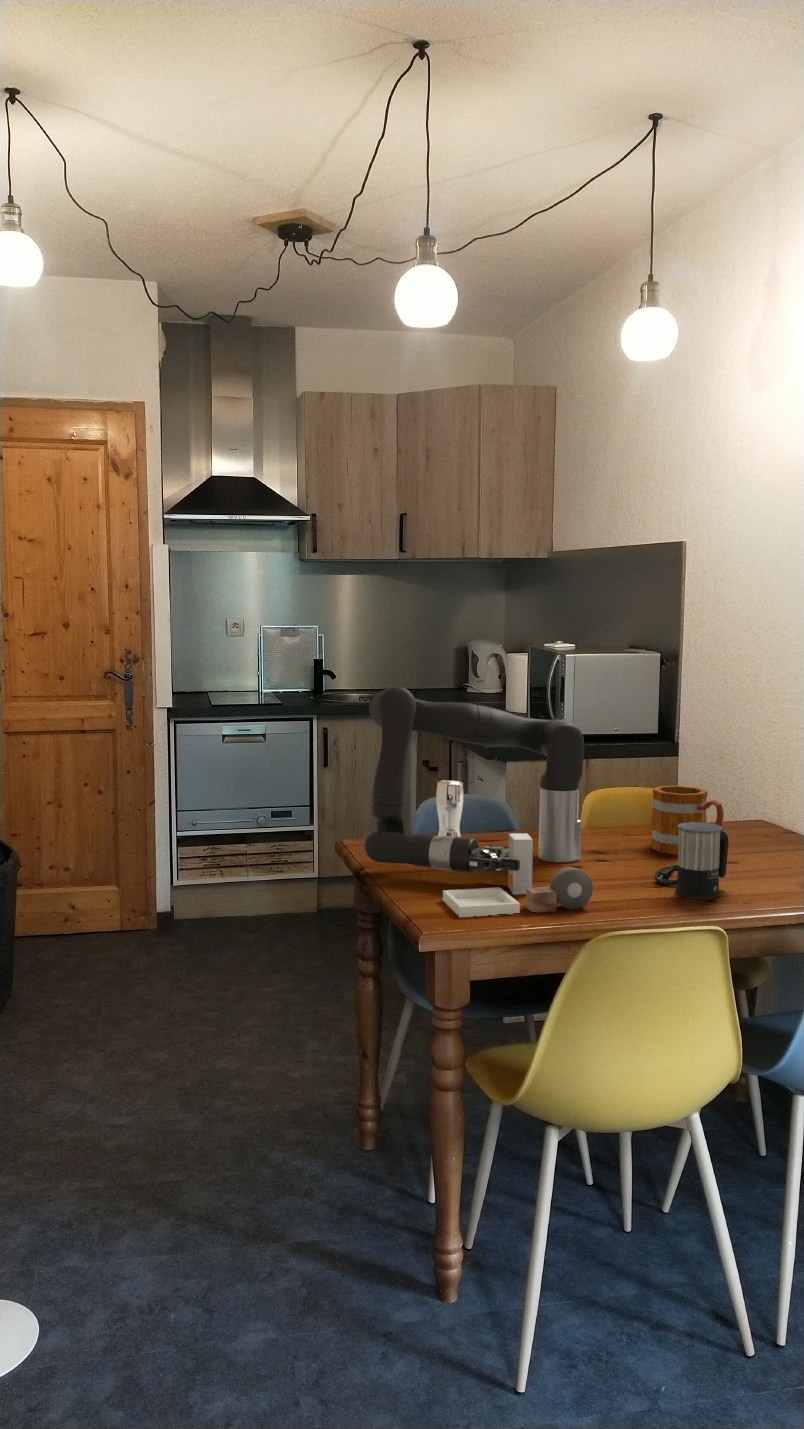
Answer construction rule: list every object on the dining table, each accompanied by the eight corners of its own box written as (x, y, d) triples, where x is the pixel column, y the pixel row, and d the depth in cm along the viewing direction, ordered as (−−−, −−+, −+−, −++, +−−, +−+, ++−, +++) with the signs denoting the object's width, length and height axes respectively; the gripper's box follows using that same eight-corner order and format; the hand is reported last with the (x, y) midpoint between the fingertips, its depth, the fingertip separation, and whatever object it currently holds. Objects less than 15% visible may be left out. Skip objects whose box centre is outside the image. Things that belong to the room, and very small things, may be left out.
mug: (639, 847, 278) (641, 788, 276) (673, 840, 286) (675, 783, 284) (702, 862, 262) (705, 800, 261) (737, 855, 270) (740, 795, 269)
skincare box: (507, 887, 238) (508, 833, 237) (526, 887, 239) (527, 833, 237) (512, 895, 232) (513, 839, 231) (532, 894, 233) (533, 839, 231)
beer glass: (465, 837, 287) (466, 781, 285) (458, 843, 280) (459, 785, 278) (440, 835, 289) (441, 779, 287) (432, 841, 282) (433, 783, 281)
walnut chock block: (548, 905, 224) (549, 886, 224) (556, 911, 220) (556, 891, 220) (525, 907, 223) (526, 887, 223) (532, 912, 219) (533, 893, 219)
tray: (499, 897, 230) (499, 887, 230) (519, 913, 218) (519, 903, 218) (442, 900, 227) (442, 890, 227) (459, 917, 215) (460, 907, 215)
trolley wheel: (585, 903, 226) (586, 865, 225) (592, 908, 222) (593, 870, 222) (549, 906, 224) (550, 867, 223) (555, 910, 221) (556, 872, 220)
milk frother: (711, 902, 228) (714, 832, 226) (639, 891, 236) (641, 823, 235) (731, 887, 240) (734, 821, 238) (661, 877, 248) (663, 812, 247)
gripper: (442, 843, 233) (515, 850, 227) (464, 830, 247) (534, 837, 240) (442, 878, 234) (515, 886, 228) (464, 863, 247) (533, 870, 241)
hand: (525, 861), depth 234 cm, fingers open, 8 cm apart
